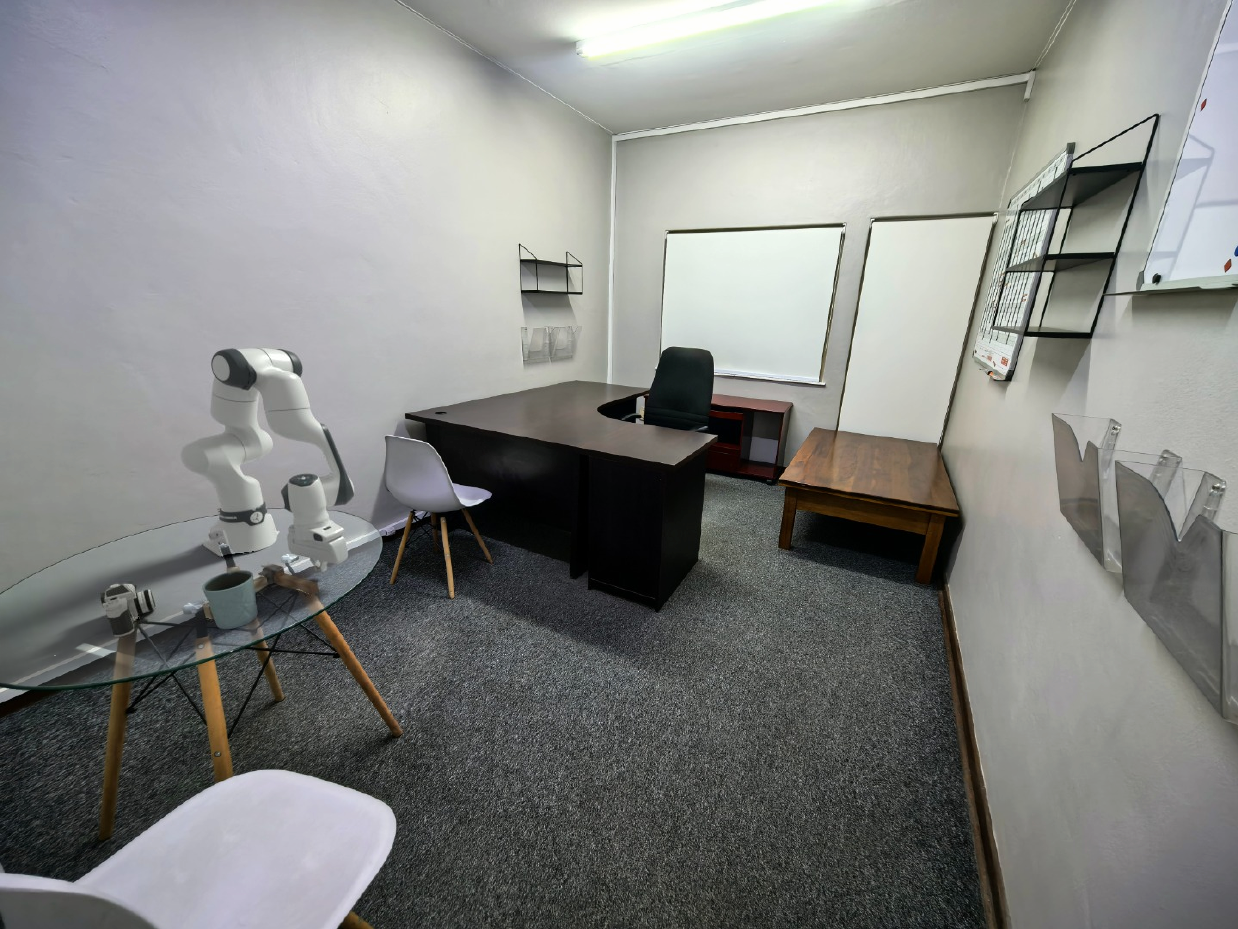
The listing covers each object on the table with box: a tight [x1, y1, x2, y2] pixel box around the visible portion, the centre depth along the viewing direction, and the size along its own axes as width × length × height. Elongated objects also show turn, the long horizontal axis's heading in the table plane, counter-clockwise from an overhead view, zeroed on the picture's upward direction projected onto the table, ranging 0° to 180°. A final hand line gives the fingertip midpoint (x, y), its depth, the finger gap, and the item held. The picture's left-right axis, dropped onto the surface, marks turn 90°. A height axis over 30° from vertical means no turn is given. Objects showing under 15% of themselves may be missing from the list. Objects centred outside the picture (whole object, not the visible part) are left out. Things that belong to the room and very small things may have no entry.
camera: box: [99, 583, 157, 638], centre depth 118 cm, size 16×9×10 cm, turn 47°
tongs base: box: [202, 567, 275, 620], centre depth 129 cm, size 20×4×6 cm, turn 166°
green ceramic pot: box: [201, 569, 259, 630], centre depth 119 cm, size 10×10×12 cm
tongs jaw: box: [261, 562, 320, 597], centre depth 134 cm, size 20×2×6 cm, turn 70°
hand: (321, 570), depth 138 cm, fingers closed
